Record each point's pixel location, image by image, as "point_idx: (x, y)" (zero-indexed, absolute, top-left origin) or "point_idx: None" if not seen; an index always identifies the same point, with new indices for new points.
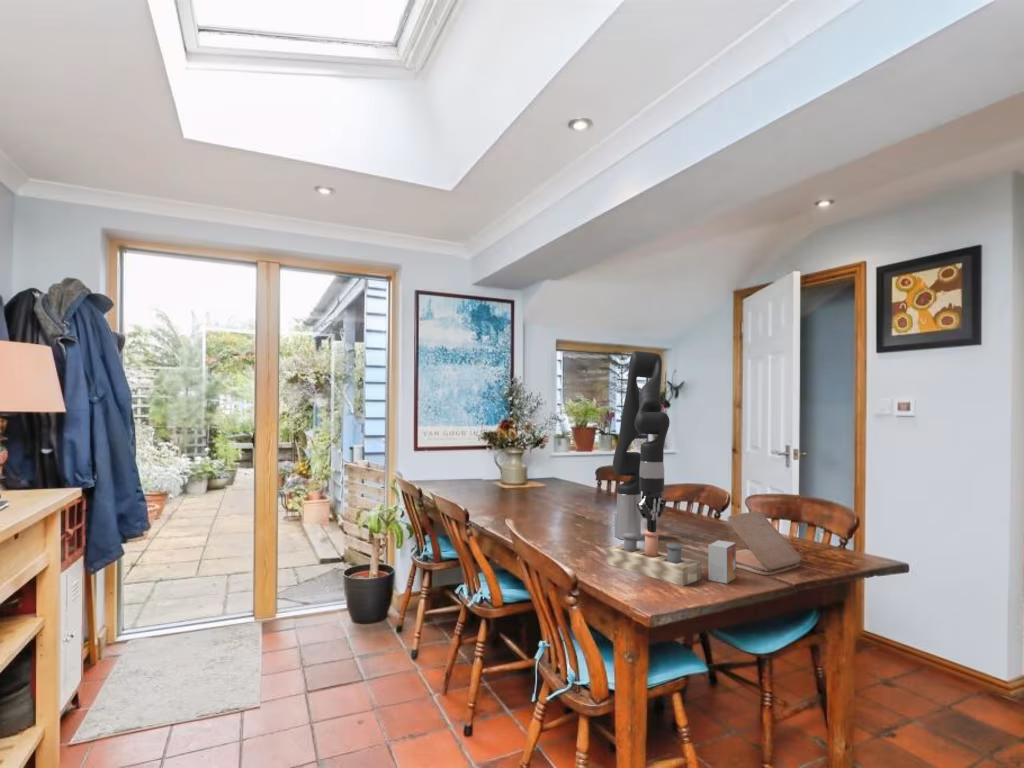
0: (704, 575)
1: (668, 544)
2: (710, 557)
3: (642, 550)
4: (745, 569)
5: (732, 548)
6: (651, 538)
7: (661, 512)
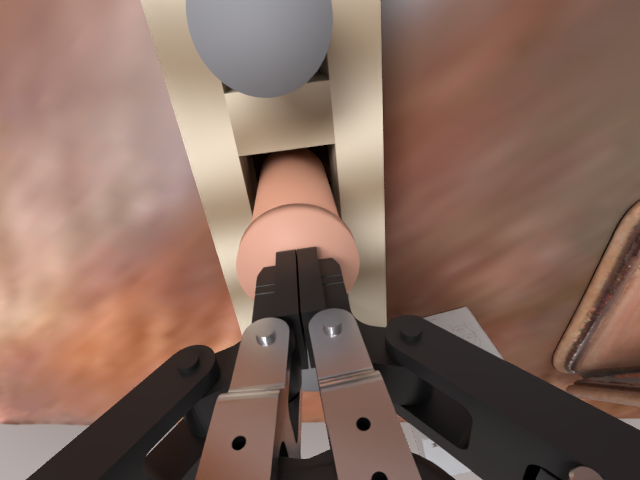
0: (420, 294)
1: None
2: None
3: (325, 94)
4: (571, 323)
5: None
6: None
7: (452, 414)
